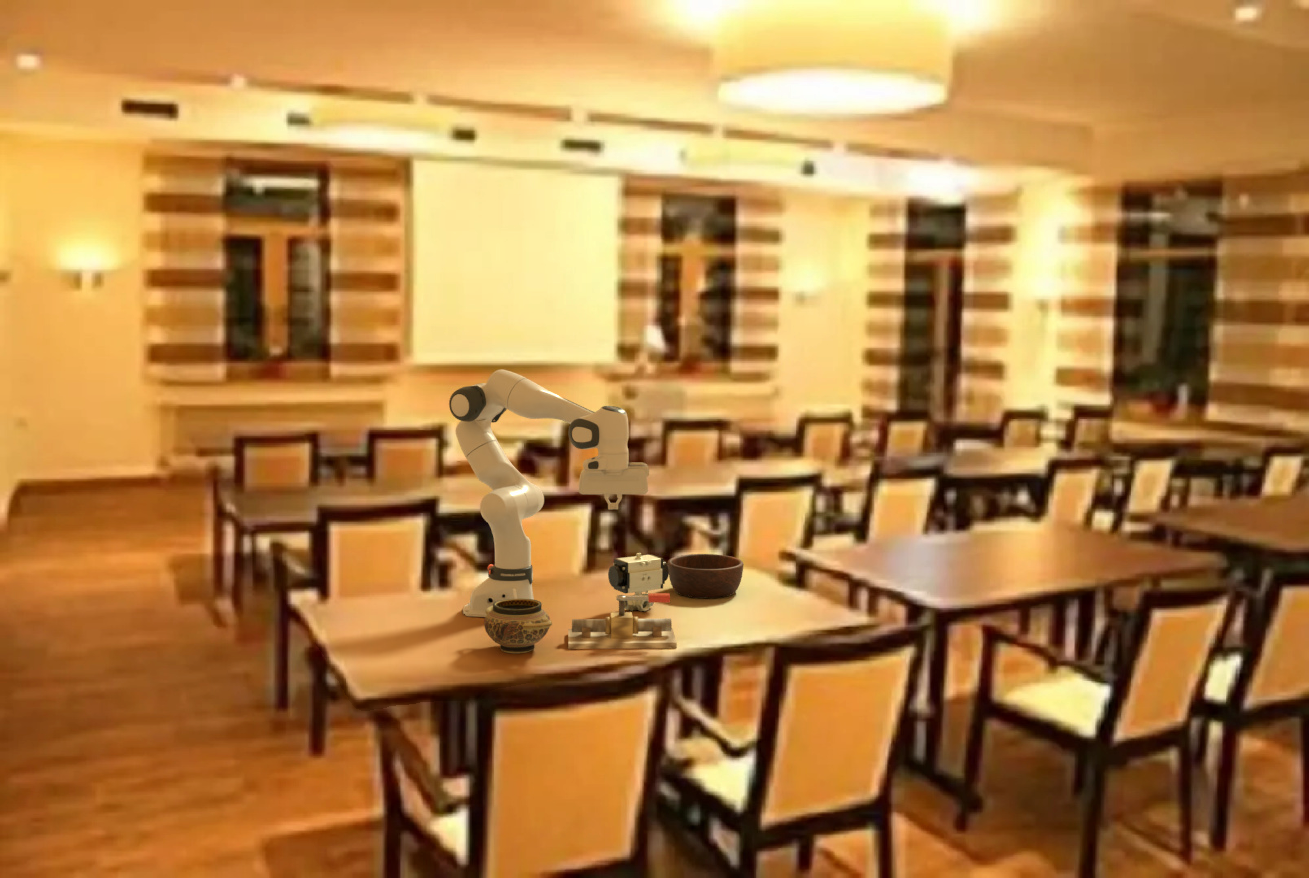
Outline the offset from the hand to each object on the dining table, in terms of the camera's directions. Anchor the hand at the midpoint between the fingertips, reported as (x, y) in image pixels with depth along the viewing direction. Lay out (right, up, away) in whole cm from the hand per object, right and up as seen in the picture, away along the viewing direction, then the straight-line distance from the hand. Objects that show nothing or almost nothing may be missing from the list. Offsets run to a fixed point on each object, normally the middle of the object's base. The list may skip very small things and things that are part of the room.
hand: (613, 509), depth 367 cm
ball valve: (+7, -33, +24) cm, 42 cm away
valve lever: (+9, -25, -12) cm, 29 cm away
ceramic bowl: (-26, -38, -20) cm, 50 cm away
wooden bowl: (+29, -30, +49) cm, 64 cm away
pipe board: (+3, -37, -11) cm, 38 cm away
